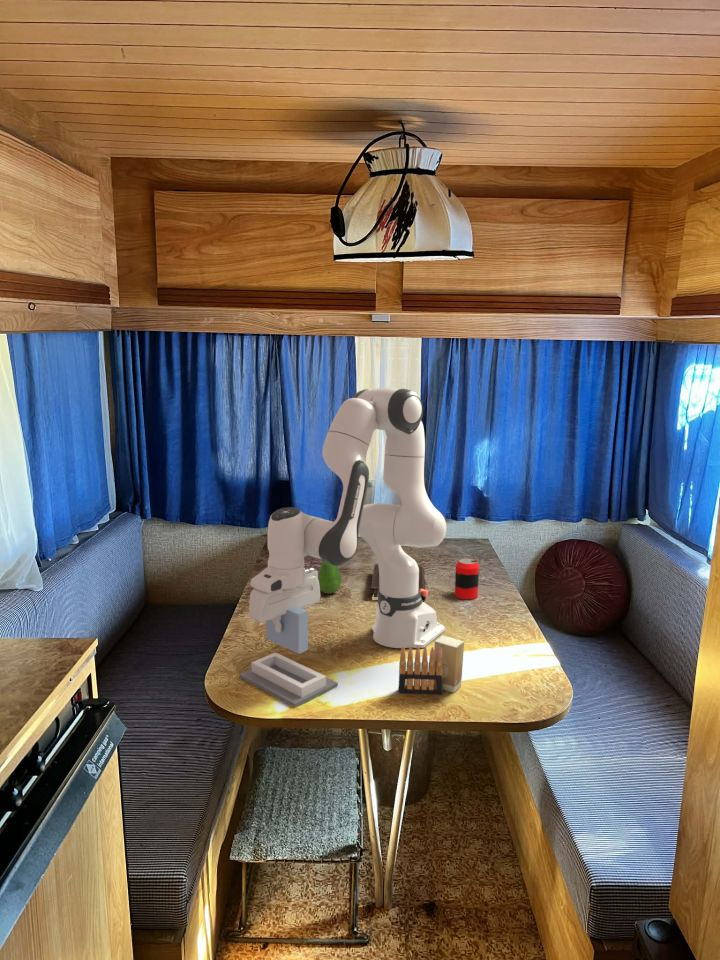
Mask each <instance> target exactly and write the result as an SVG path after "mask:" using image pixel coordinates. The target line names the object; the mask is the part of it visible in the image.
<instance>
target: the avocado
mask: <svg viewBox="0 0 720 960" xmlns="http://www.w3.org/2000/svg"><path fill="white" fill-rule="evenodd" d="M318 580H319V586H320V592H322V593H323V594H326V593H327V594H326V595H330V594H333V593H336V592H337V591H338V590H339V589H340V586H341V583H342V575H341V572H340V569H339V566H334V565H332V564H330V563H328V562H325V561H323V560H322V563H321V565H320V567H319V571H318Z"/></svg>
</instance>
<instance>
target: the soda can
mask: <svg viewBox="0 0 720 960" xmlns="http://www.w3.org/2000/svg"><path fill="white" fill-rule="evenodd" d="M479 575H480V565H479V563H478V562H477V561H476V559H473V558H460V559H459V560H458V561H457V562H456V563H455V575H454V576H455V578H454V579H455V580H454V581H455V582H454V596H455V597H456V596H457V597H458V598H457V599H460V598H461V599H460V600H464V599H472V600H475V599H476V598H478V597H479V596H478V595H479V578H480V577H479ZM474 598H475V599H474Z"/></svg>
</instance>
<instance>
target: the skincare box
mask: <svg viewBox="0 0 720 960" xmlns="http://www.w3.org/2000/svg"><path fill="white" fill-rule="evenodd" d="M439 647H440V648H441V652H442V664H443V667H442V690H444V691H447V692H450V693H455V692H457V691H458V690H459V689H460V688H461V687H462V681H463V680H462V679H463V664H464V663H463V662H464V650H465V641H463V640H460V639H458V638H453V637H450V636H446V635H443V634H441V635H440V636H438V637H437V639H435V640H434V647H433V649H434V653H435V672H436V662H437V653H438V649H439Z"/></svg>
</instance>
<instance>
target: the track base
mask: <svg viewBox="0 0 720 960" xmlns="http://www.w3.org/2000/svg"><path fill="white" fill-rule="evenodd" d="M250 665H251V669H248V670H247V671H244V672H241V673H240V674H239V679H241V680H242V681H245V682H247V683H249V684H250V683H251V685H252V684H253V685H252V686H254V687H257V688H258V689H259V690H262V691H264V692H265V693H267V694H268V695H271V696H272V697H275V698H277V699H279V700H280V701H282V702H284V703H285V704H288V705H289V704H290V705H289V706H291V705H292V707H293V706H294V707H293V708H295V707H296V708H298V707H300V706H301V704H302V705H303V704H306V703H307V702H310V701H311V700H314V699H316V698H317V697H319V696H322V695H323V694H325V693H327V692H329V691H332V690H333V688H334V689H336V688H337V686H338V685H339V684H338V682H337V681H334V680H333V679H330V678H328V677H327V675H324V674H322V673H320V672H318V671H317V670H313V669H311V668H309V667H308V666H305V665H303V664H301V663H299V662H297V661H295V660H292V659H291V658H288V657H286V656H285V655H282V654H280V653H278V652H273V653H270V654H268V655H266V656H263V657H261V658H259V659H256V660H254V661H251V664H250ZM335 687H336V688H335ZM299 705H300V706H299ZM297 706H298V707H297Z"/></svg>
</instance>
